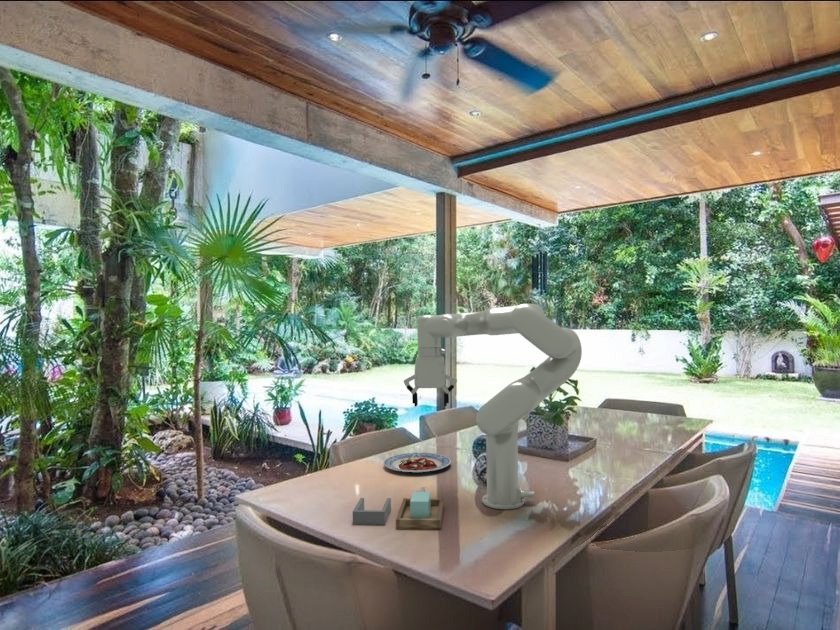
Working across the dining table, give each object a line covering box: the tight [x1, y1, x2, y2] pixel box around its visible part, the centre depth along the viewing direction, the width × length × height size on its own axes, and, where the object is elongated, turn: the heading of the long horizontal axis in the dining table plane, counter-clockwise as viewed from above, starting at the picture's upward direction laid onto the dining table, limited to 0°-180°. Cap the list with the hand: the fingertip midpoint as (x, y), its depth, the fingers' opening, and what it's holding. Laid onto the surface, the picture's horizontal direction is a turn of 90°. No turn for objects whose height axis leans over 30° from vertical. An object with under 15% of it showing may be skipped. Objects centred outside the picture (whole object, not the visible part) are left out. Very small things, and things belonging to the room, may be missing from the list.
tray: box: [395, 497, 444, 531], centre depth 146 cm, size 12×16×2 cm
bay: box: [352, 497, 392, 526], centre depth 147 cm, size 9×11×4 cm
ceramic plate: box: [383, 452, 452, 474], centre depth 197 cm, size 26×26×3 cm
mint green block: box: [410, 486, 432, 519], centre depth 146 cm, size 5×12×6 cm, turn 175°
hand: (430, 405), depth 166 cm, fingers open, 9 cm apart
